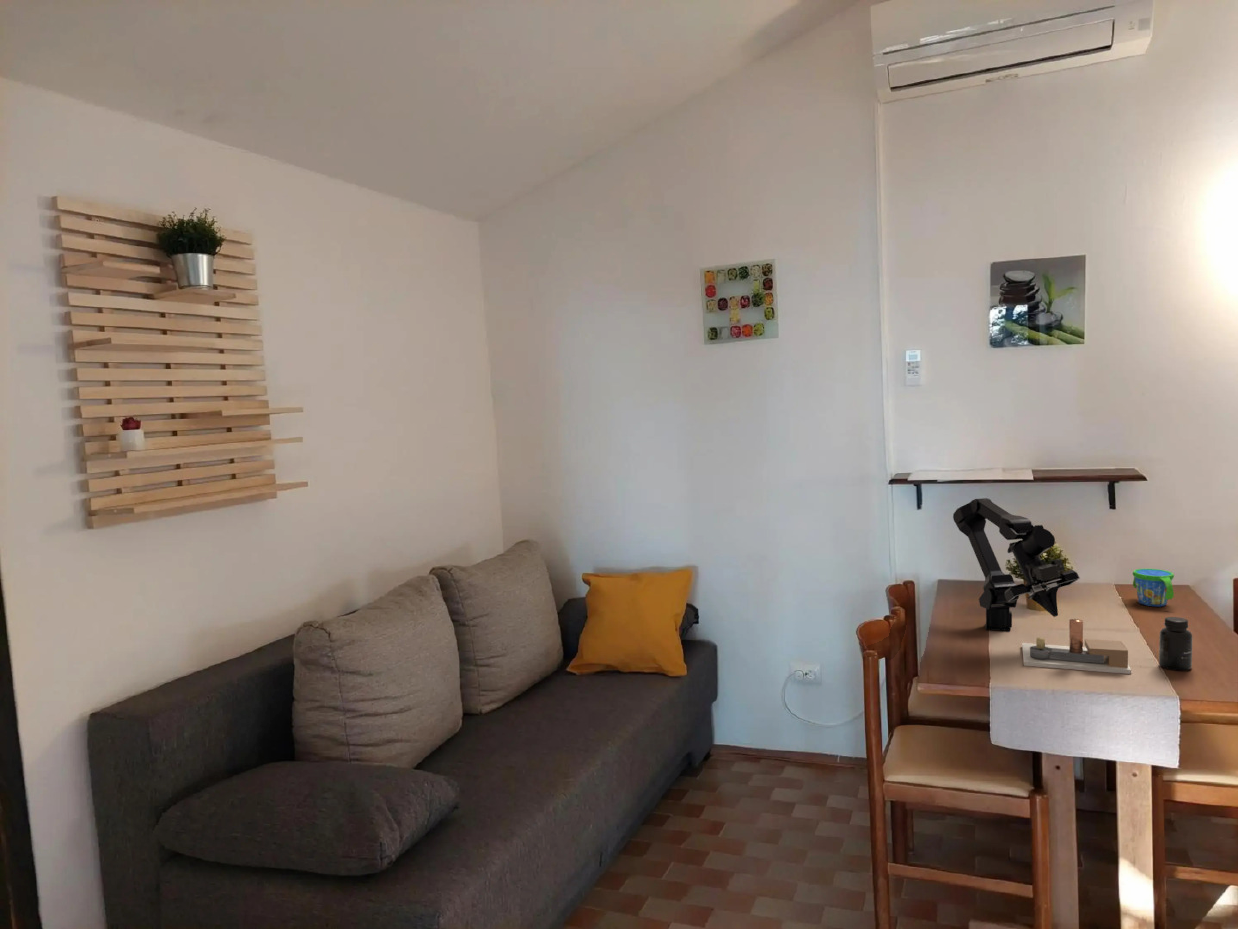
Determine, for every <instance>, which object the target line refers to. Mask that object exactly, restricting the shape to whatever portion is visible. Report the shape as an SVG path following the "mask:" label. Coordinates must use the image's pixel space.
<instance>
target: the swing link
mask: <svg viewBox="0 0 1238 929" xmlns="http://www.w3.org/2000/svg"><path fill="white" fill-rule="evenodd" d="M1068 624H1069V631H1068V633H1069V635H1068V637H1069V640H1068V641H1069V645H1068V646H1069V649H1058V648H1049V647H1045V649H1039V648H1036V646H1032V647H1030V657H1032V658H1035V659H1042V660H1046V659H1056V660H1067V661H1079V662H1091V663H1103V664H1104V655H1091V654H1089V652H1088V651H1083V647H1084V620H1083V619H1079V618H1070V619H1069V623H1068Z"/></svg>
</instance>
